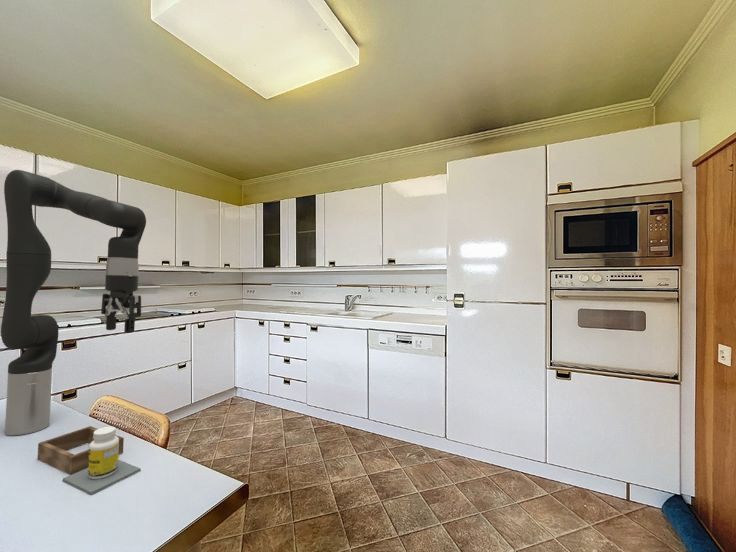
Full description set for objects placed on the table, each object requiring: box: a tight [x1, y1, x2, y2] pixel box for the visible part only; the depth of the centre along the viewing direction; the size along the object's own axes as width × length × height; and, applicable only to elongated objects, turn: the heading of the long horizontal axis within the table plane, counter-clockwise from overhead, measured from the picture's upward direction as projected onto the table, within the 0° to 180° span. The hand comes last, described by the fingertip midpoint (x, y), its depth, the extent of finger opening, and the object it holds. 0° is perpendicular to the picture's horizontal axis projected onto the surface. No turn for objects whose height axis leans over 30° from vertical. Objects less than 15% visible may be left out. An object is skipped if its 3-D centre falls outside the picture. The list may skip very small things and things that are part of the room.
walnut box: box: [36, 425, 125, 476], centre depth 84 cm, size 15×11×4 cm
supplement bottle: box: [88, 426, 119, 479], centre depth 76 cm, size 5×5×10 cm
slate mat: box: [62, 459, 141, 496], centre depth 76 cm, size 11×10×1 cm
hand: (120, 331), depth 94 cm, fingers open, 8 cm apart
